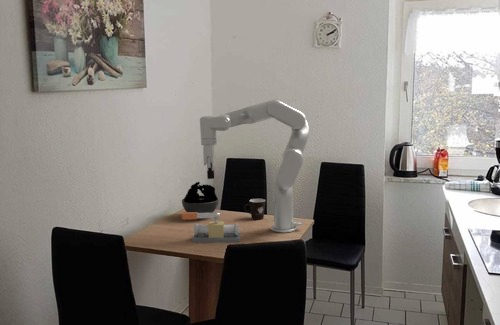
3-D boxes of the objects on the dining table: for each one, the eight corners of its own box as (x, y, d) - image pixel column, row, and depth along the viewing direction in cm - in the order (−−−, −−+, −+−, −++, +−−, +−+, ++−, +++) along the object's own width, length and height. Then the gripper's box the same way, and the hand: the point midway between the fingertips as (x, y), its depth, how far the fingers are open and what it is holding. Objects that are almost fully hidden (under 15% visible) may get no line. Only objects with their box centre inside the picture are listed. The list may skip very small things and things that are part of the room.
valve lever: (182, 217, 254) (182, 212, 253) (219, 217, 254) (219, 211, 254) (182, 219, 251) (181, 213, 250) (219, 218, 251) (219, 213, 251)
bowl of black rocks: (213, 222, 283) (212, 187, 281) (177, 221, 287) (176, 186, 285) (222, 213, 303) (221, 181, 300) (188, 212, 307) (187, 180, 304)
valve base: (240, 235, 259) (240, 215, 257) (239, 241, 249) (239, 220, 247) (195, 235, 259) (194, 215, 258) (192, 242, 249) (191, 220, 248)
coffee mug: (265, 216, 295) (264, 198, 294) (266, 220, 287) (265, 202, 285) (243, 216, 295) (243, 199, 294) (244, 220, 286) (244, 202, 285)
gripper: (202, 140, 269) (204, 176, 271) (199, 143, 254) (201, 181, 256) (217, 139, 268) (219, 175, 271) (215, 142, 254) (217, 181, 256)
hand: (211, 178), depth 264 cm, fingers closed
